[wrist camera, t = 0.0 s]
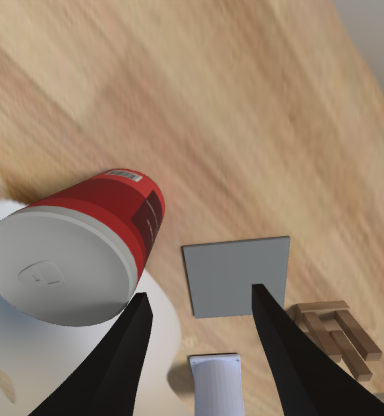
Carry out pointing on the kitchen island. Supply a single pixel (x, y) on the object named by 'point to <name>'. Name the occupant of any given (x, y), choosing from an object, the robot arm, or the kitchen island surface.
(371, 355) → the stool
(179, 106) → the kitchen island surface
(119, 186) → the canned food
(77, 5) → the kitchen island surface
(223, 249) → the mat
